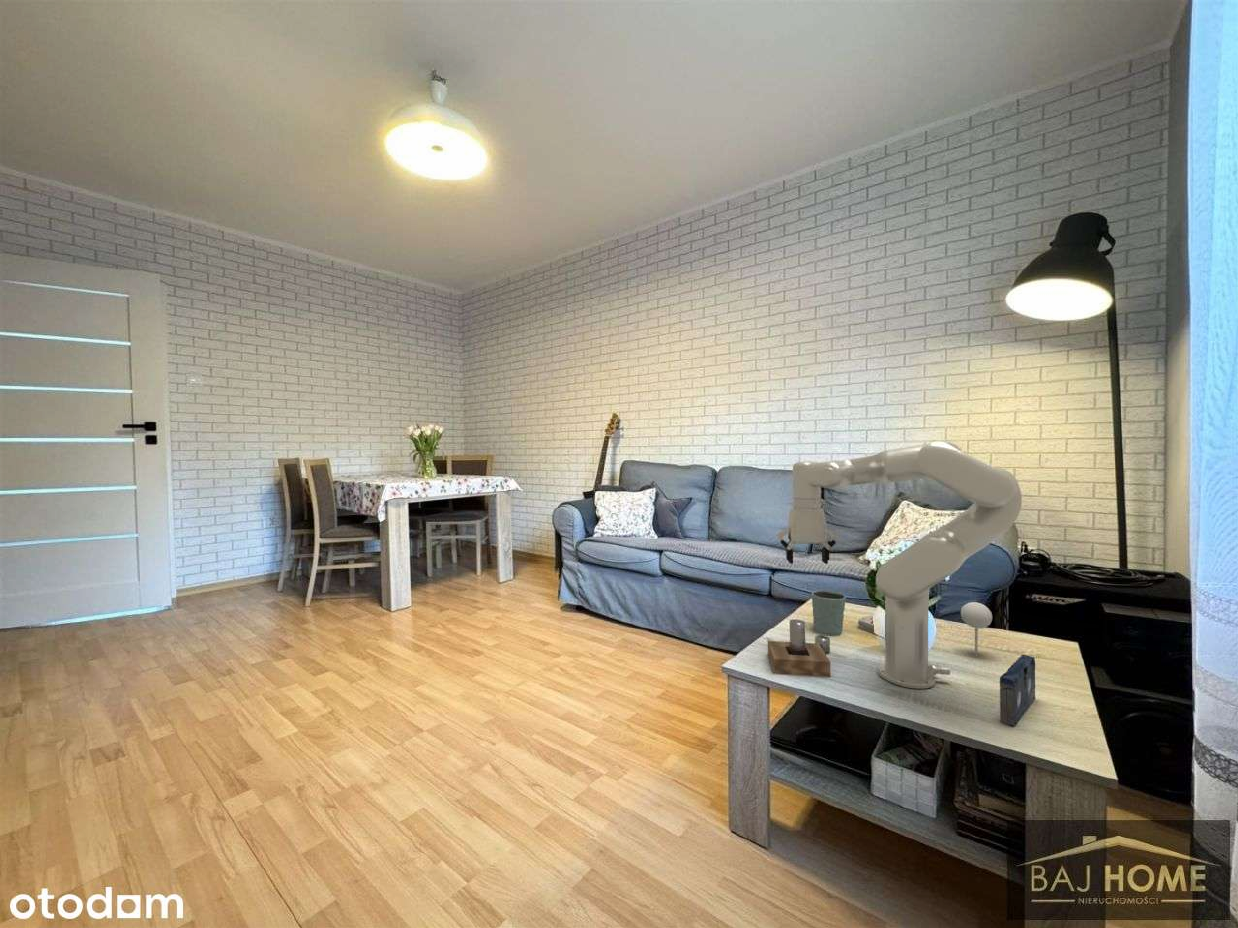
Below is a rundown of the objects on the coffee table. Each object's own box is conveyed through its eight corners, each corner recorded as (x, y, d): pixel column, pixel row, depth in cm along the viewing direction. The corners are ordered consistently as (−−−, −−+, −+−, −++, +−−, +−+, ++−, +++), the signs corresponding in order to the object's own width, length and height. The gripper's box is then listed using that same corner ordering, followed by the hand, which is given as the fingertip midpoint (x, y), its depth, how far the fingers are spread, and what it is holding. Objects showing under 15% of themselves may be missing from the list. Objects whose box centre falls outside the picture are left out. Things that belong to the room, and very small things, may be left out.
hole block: (819, 657, 135) (818, 643, 134) (830, 677, 123) (830, 662, 123) (767, 654, 137) (767, 641, 137) (774, 673, 125) (774, 658, 125)
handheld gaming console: (874, 613, 161) (918, 627, 148) (874, 623, 161) (918, 639, 148) (855, 617, 157) (898, 633, 144) (855, 628, 157) (898, 644, 144)
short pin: (827, 649, 140) (827, 635, 140) (831, 654, 136) (831, 641, 136) (813, 648, 141) (813, 635, 141) (816, 654, 137) (816, 640, 137)
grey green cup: (805, 626, 158) (805, 590, 158) (832, 624, 160) (832, 588, 160) (824, 638, 148) (823, 600, 148) (852, 635, 150) (852, 597, 150)
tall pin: (803, 662, 131) (803, 619, 131) (807, 669, 127) (806, 625, 127) (788, 661, 132) (788, 619, 132) (791, 668, 128) (791, 624, 128)
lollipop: (998, 658, 133) (998, 604, 132) (981, 662, 130) (981, 608, 130) (971, 648, 139) (971, 597, 139) (954, 652, 137) (955, 600, 136)
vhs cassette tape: (1022, 695, 113) (1022, 653, 113) (1038, 700, 110) (1038, 657, 110) (996, 722, 102) (996, 676, 102) (1014, 728, 99) (1014, 681, 99)
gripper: (833, 502, 141) (834, 560, 141) (773, 503, 143) (774, 559, 143) (842, 505, 133) (843, 565, 134) (779, 505, 135) (780, 565, 136)
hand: (807, 562), depth 138 cm, fingers open, 9 cm apart
